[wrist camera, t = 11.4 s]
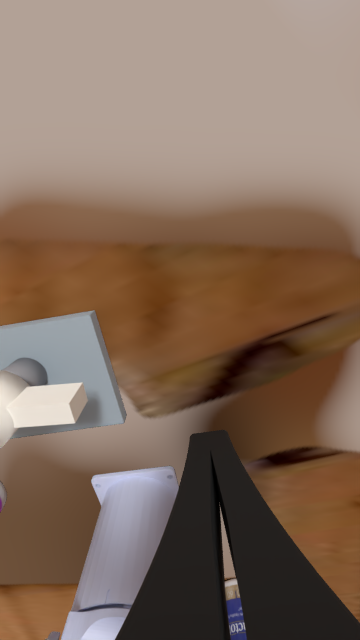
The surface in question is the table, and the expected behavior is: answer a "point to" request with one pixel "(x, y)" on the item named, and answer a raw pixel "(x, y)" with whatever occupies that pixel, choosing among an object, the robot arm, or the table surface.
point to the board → (64, 366)
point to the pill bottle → (234, 610)
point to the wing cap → (37, 404)
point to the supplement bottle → (2, 496)
